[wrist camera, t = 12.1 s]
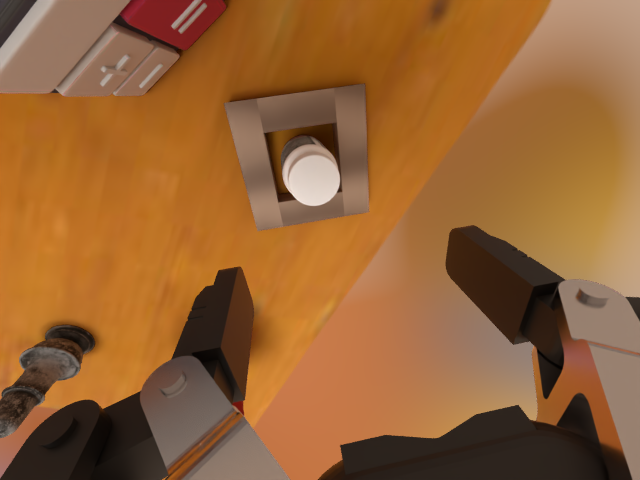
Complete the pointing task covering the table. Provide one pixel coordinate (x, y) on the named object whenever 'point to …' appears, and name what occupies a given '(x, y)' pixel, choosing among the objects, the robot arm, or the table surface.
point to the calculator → (96, 43)
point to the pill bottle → (309, 170)
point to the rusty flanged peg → (43, 372)
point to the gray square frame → (296, 112)
